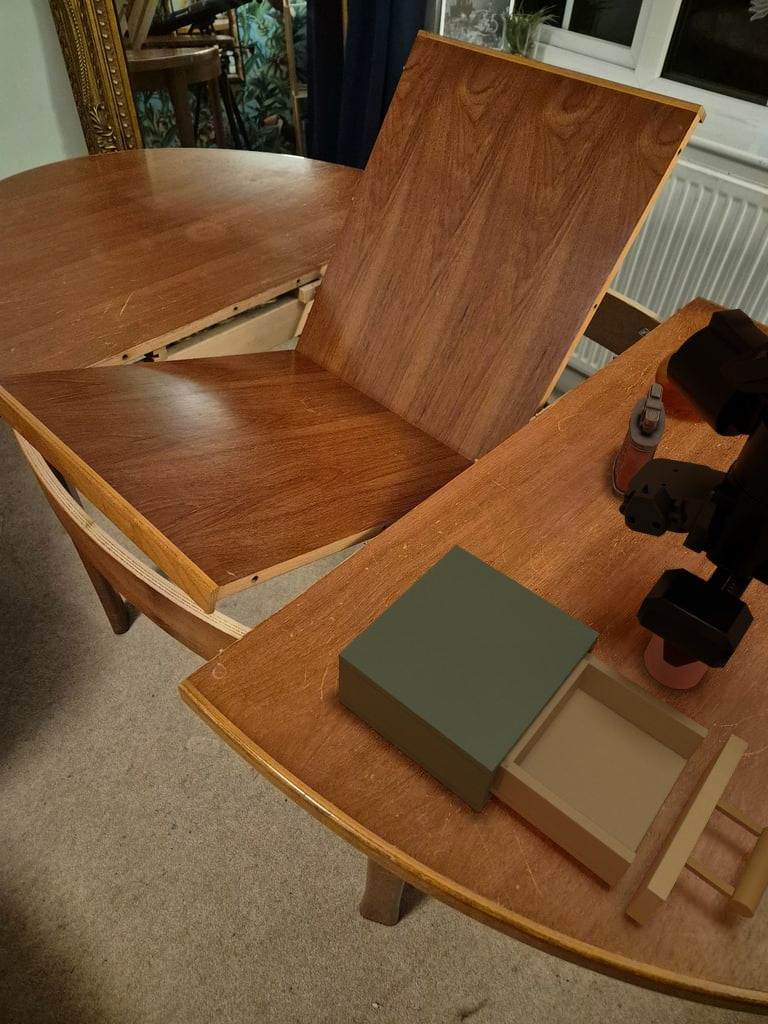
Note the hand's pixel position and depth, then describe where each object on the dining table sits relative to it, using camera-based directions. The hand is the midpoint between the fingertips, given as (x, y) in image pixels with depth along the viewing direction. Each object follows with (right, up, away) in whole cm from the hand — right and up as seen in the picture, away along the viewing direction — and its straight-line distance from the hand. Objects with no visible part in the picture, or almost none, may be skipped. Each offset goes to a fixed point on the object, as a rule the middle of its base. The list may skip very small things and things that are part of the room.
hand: (695, 625), depth 59 cm
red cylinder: (0, -4, +4) cm, 6 cm away
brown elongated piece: (+1, +13, +21) cm, 24 cm away
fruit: (+11, +22, +30) cm, 39 cm away
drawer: (-7, -12, -6) cm, 15 cm away
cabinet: (-18, -5, +1) cm, 19 cm away
